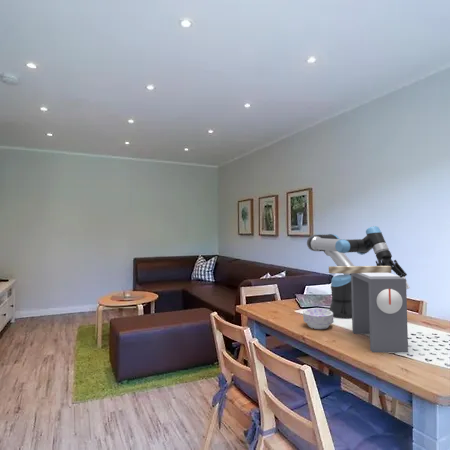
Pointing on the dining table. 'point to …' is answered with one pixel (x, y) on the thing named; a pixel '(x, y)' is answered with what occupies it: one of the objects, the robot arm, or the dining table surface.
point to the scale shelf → (380, 310)
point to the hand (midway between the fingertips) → (398, 289)
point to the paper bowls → (318, 318)
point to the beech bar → (359, 269)
